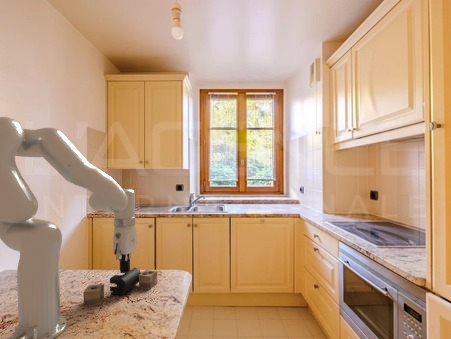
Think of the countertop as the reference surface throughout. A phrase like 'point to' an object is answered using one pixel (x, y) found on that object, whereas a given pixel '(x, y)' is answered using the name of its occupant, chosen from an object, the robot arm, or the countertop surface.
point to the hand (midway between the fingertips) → (125, 270)
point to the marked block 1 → (93, 295)
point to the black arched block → (124, 281)
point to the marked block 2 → (148, 279)
